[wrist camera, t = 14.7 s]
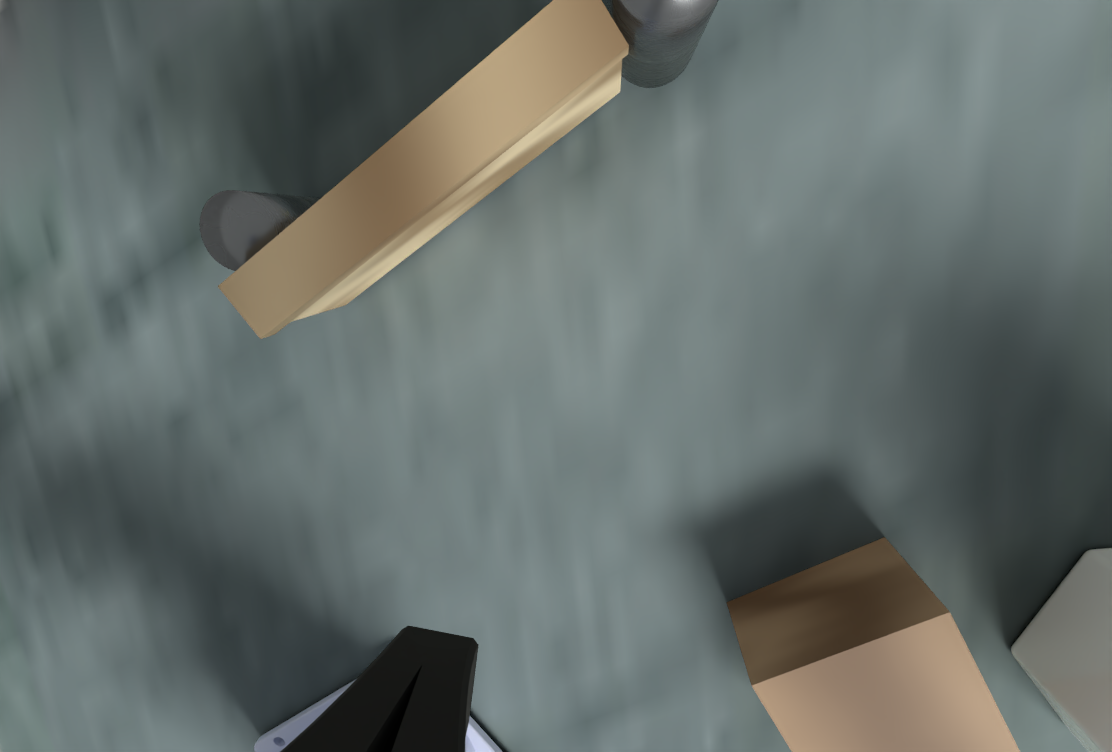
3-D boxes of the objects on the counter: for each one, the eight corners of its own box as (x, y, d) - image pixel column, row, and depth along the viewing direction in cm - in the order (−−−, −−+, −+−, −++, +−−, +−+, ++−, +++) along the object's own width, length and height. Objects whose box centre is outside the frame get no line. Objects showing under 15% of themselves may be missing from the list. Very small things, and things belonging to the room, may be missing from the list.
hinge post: (641, 106, 16) (656, 47, 11) (594, 33, 16) (584, -64, 10) (711, 49, 15) (764, -43, 10) (663, -28, 15) (692, -165, 10)
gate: (593, 48, 15) (585, -28, 11) (623, 98, 16) (628, 45, 11) (318, 270, 18) (218, 286, 13) (349, 309, 18) (260, 338, 14)
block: (794, 713, 21) (833, 820, 18) (725, 599, 20) (751, 685, 17) (947, 660, 20) (1025, 762, 16) (882, 533, 19) (949, 611, 15)
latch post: (324, 272, 18) (238, 287, 14) (284, 223, 18) (184, 223, 14) (366, 236, 18) (290, 240, 14) (326, 185, 17) (235, 173, 13)
